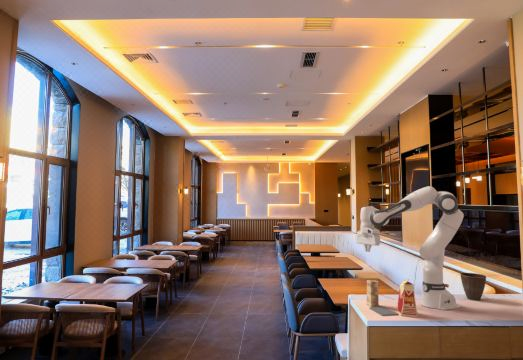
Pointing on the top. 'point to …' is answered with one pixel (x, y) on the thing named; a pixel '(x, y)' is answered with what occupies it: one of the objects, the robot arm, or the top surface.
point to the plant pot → (473, 285)
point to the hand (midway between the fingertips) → (367, 251)
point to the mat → (383, 311)
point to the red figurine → (407, 300)
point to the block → (372, 293)
